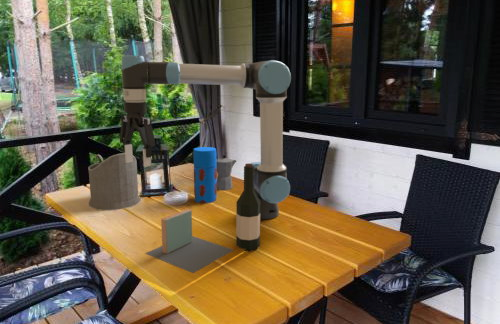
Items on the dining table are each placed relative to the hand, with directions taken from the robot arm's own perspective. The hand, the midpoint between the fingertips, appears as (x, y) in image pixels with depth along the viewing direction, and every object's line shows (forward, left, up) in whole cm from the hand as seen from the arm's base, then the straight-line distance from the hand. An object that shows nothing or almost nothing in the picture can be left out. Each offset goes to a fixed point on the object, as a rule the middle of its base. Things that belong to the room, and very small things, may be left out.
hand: (138, 164), depth 141 cm
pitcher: (+29, -40, -28) cm, 57 cm away
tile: (-16, +10, -27) cm, 33 cm away
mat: (-22, +13, -28) cm, 37 cm away
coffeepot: (-21, -66, -28) cm, 74 cm away
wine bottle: (-41, +5, -28) cm, 49 cm away
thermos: (-16, -45, -28) cm, 55 cm away
